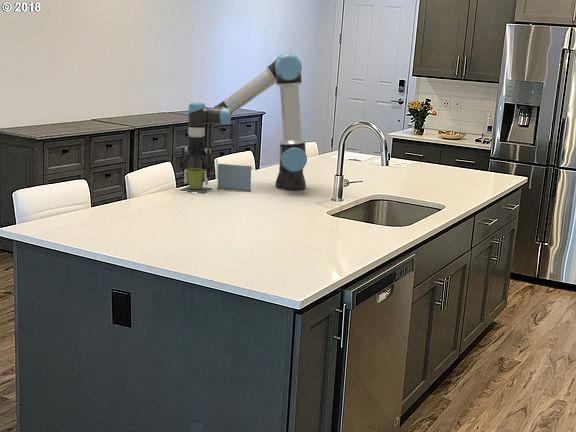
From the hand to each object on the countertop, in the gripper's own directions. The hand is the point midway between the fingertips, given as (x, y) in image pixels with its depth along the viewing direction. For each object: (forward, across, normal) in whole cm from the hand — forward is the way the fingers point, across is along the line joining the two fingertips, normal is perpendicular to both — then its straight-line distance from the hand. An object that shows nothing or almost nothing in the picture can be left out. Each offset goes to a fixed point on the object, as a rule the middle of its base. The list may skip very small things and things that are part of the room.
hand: (196, 183), depth 362 cm
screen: (+3, -16, -8) cm, 18 cm away
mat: (+3, 0, 0) cm, 3 cm away
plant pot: (+2, 0, 0) cm, 2 cm away
